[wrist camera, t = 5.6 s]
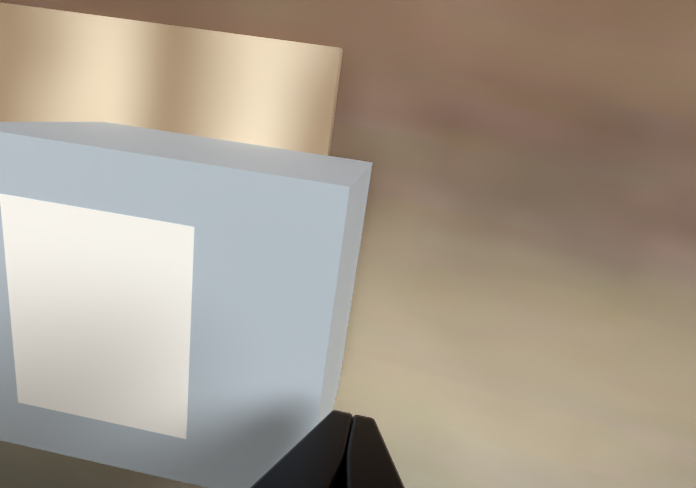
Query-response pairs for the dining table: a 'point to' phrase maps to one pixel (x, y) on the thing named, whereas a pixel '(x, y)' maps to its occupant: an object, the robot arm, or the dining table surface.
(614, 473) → the dining table surface
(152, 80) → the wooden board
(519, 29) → the dining table surface
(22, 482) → the dining table surface
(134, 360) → the light blue rectangular block
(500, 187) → the dining table surface
